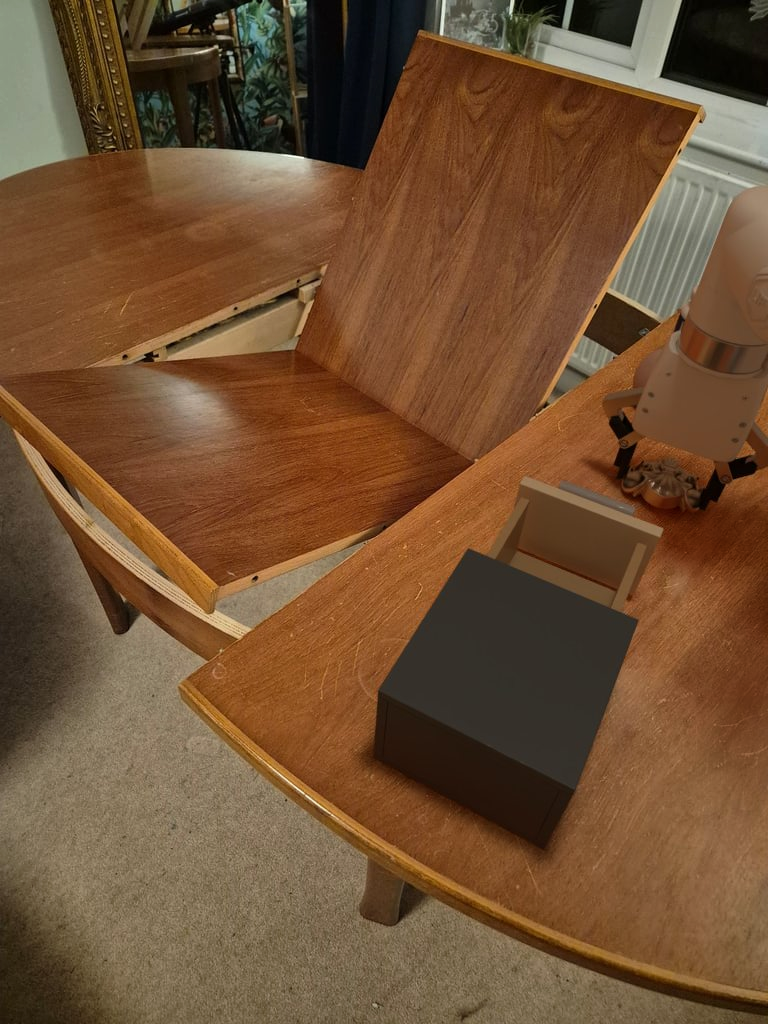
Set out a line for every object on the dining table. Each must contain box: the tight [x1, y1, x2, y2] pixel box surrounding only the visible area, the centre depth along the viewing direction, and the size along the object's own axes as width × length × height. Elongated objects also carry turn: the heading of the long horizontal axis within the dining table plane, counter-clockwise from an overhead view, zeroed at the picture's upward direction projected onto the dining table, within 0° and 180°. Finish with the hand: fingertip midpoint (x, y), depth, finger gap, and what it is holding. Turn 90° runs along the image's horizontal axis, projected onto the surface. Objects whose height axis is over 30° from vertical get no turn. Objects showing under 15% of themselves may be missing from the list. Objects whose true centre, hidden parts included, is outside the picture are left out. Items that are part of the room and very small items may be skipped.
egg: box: [632, 347, 664, 389], centre depth 86 cm, size 5×5×7 cm
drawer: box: [485, 475, 664, 613], centre depth 63 cm, size 18×12×8 cm
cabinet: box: [372, 547, 639, 850], centre depth 55 cm, size 15×14×10 cm
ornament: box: [621, 456, 706, 513], centre depth 76 cm, size 8×7×4 cm
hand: (662, 486), depth 77 cm, fingers closed on ornament, 8 cm apart
